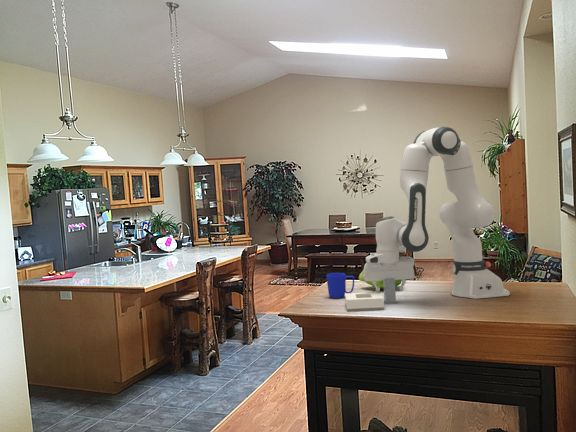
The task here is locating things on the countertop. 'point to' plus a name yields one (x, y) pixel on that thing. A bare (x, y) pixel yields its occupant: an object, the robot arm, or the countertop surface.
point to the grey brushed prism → (389, 291)
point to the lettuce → (379, 283)
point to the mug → (337, 284)
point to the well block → (364, 301)
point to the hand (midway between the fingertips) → (389, 291)
